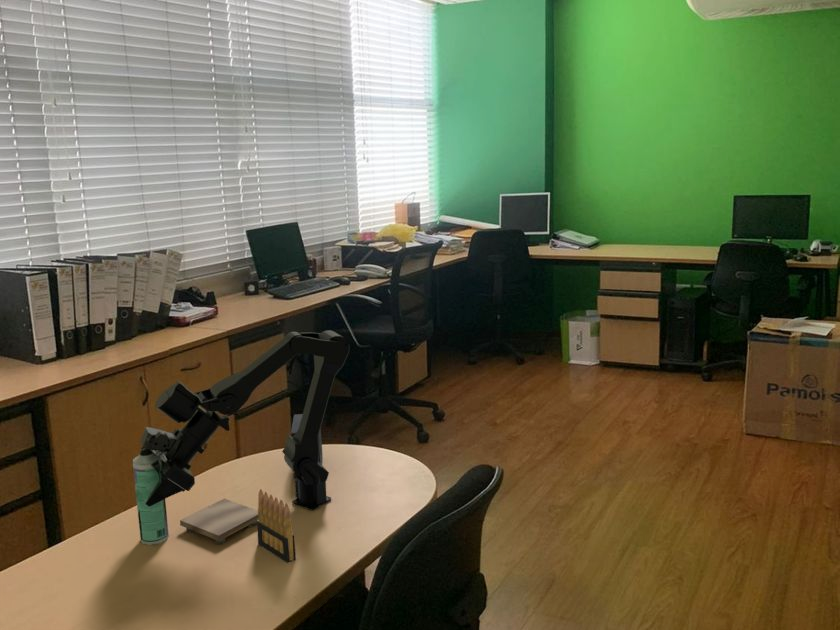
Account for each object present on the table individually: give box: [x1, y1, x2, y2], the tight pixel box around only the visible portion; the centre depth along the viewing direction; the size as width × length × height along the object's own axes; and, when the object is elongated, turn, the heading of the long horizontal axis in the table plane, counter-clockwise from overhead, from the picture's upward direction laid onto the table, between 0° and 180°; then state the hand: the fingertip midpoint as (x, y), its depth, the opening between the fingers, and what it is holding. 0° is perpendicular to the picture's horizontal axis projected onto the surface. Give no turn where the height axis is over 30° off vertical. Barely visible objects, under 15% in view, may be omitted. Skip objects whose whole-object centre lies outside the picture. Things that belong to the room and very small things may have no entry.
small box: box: [290, 413, 323, 479], centre depth 193 cm, size 13×7×12 cm, turn 6°
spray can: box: [132, 446, 170, 546], centre depth 158 cm, size 6×6×20 cm
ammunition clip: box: [256, 488, 297, 564], centre depth 153 cm, size 11×2×12 cm, turn 44°
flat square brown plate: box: [179, 498, 259, 545], centre depth 164 cm, size 12×12×2 cm
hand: (143, 496), depth 158 cm, fingers open, 9 cm apart
